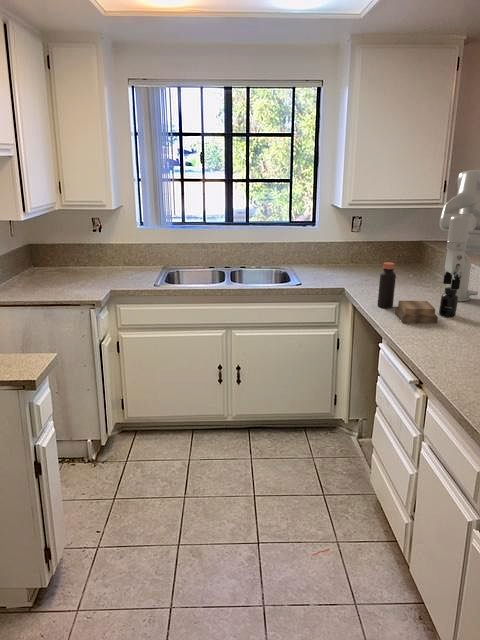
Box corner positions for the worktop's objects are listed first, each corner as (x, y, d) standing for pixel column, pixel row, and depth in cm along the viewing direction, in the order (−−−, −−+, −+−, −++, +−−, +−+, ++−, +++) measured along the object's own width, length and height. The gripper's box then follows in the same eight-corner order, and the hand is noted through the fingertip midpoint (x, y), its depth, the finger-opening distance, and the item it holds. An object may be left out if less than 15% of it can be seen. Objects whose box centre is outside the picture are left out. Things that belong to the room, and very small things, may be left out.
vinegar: (382, 309, 233) (386, 265, 227) (374, 304, 239) (378, 262, 233) (395, 307, 235) (400, 264, 228) (387, 303, 241) (391, 261, 235)
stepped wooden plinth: (427, 313, 227) (428, 300, 225) (436, 323, 213) (438, 309, 211) (394, 313, 227) (395, 299, 225) (402, 323, 214) (403, 309, 212)
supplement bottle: (445, 318, 220) (448, 291, 217) (435, 313, 227) (438, 287, 223) (459, 317, 222) (462, 289, 218) (448, 312, 228) (452, 286, 225)
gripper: (473, 249, 206) (467, 291, 211) (458, 243, 223) (452, 282, 228) (454, 249, 207) (448, 291, 212) (440, 242, 223) (435, 281, 228)
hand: (450, 286), depth 220 cm, fingers open, 9 cm apart
